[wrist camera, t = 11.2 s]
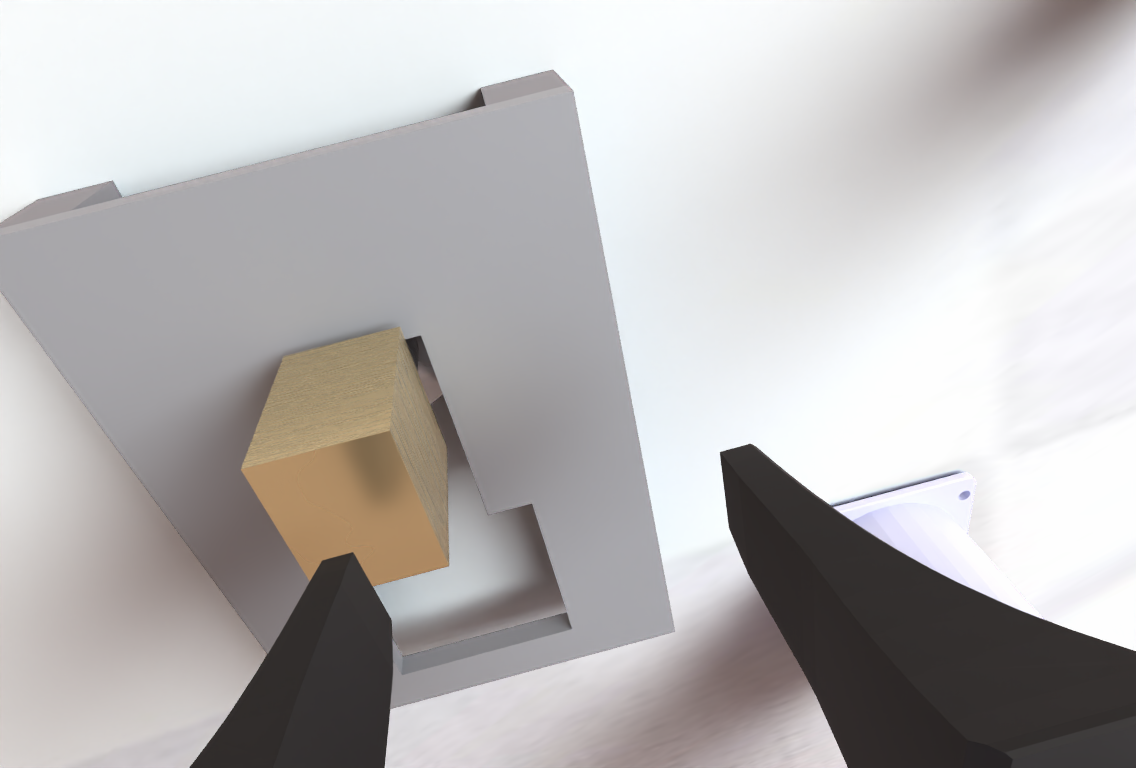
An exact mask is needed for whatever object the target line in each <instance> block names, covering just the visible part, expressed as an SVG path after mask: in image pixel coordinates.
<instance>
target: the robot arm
mask: <svg viewBox="0 0 1136 768" xmlns="http://www.w3.org/2000/svg"><path fill="white" fill-rule="evenodd" d="M720 457H721V465H722V473H723V482H724V490H725V498H726V507H727V515H728V523H729V529H730V531H731V534H732V536H733V538H734V541H735V543H736V546H737V548H738V551H739V553H740V555H741V558H742V560H743V562H744V565H745V567H746V569H747V572H748V574H749V576H750V578H751V580H752V581H753V583H754V585H755V587H756V589H757V590H758V592H759V594H760V596H761V597H762V599H763V601H764V603H765V605H766V606H767V608H768V610H769V612H770V614H771V615H772V617H773V619H774V621H775V622H776V624H777V626H778V628H779V629H780V631H781V633H782V635H783V636H784V638H785V640H786V642H787V644H788V645H789V647H790V649H791V651H792V652H793V654H794V656H795V658H796V659H797V661H798V663H799V665H800V667H801V668H802V670H803V672H804V674H805V675H806V677H807V679H808V681H809V683H810V685H811V687H812V689H813V691H814V693H815V695H816V697H817V699H818V701H819V703H820V706H821V708H822V710H823V712H824V715H825V717H826V719H827V721H828V724H829V726H830V728H831V730H832V733H833V735H834V737H835V739H836V741H837V744H838V746H839V748H840V750H841V753H842V755H843V757H844V760H845V762H846V764H847V767H848V768H1136V651H1133V650H1130V649H1127V648H1124V647H1121V646H1118V645H1115V644H1112V643H1109V642H1106V641H1103V640H1100V639H1097V638H1094V637H1091V636H1088V635H1085V634H1082V633H1079V632H1076V631H1073V630H1070V629H1067V628H1065V627H1062V626H1059V625H1057V624H1054V623H1052V622H1049V621H1047V620H1045V619H1044V618H1043V617H1042V616H1041V615H1040V614H1039V613H1038V612H1037V611H1036V609H1035V608H1034V607H1033V606H1032V605H1031V604H1030V603H1029V602H1028V601H1027V600H1026V598H1025V597H1024V596H1023V595H1022V594H1021V593H1020V592H1019V591H1018V590H1017V588H1016V587H1015V586H1014V585H1013V584H1012V583H1011V582H1010V581H1009V580H1008V579H1007V577H1006V576H1005V575H1004V574H1003V573H1002V572H1001V571H1000V570H999V569H998V567H997V566H996V565H995V564H994V563H993V562H992V561H991V560H990V559H989V558H988V556H987V555H986V554H985V553H984V552H983V551H982V550H981V549H980V548H979V546H978V545H977V544H976V543H975V542H974V541H973V540H972V539H971V538H970V536H969V535H968V529H969V523H970V518H971V512H972V506H973V500H974V494H975V488H976V479H975V478H974V477H973V476H972V475H971V474H970V473H967V472H964V473H959V474H955V475H951V476H948V477H944V478H940V479H936V480H933V481H929V482H925V483H922V484H918V485H914V486H910V487H907V488H903V489H899V490H895V491H892V492H888V493H884V494H881V495H877V496H873V497H869V498H866V499H862V500H858V501H855V502H851V503H847V504H843V505H840V506H836V507H832V506H830V505H829V504H827V503H826V502H825V501H823V500H822V499H821V498H819V497H818V496H816V495H815V494H814V493H812V492H811V491H810V490H809V489H807V488H806V487H805V486H803V485H802V484H801V483H799V482H798V481H797V480H796V479H794V478H793V477H792V476H791V475H789V474H788V473H787V472H786V471H784V470H783V469H782V468H781V467H780V466H778V465H777V464H776V463H775V462H774V461H772V460H771V459H770V458H769V457H768V456H766V455H765V454H764V453H763V452H762V451H761V450H759V449H758V448H757V447H756V446H754V445H752V444H748V445H744V446H741V447H737V448H733V449H730V450H726V451H722V452H720ZM392 681H393V643H392V622H391V618H390V617H389V615H388V613H387V611H386V609H385V608H384V606H383V604H382V602H381V601H380V599H379V597H378V595H377V593H376V592H375V590H374V588H373V586H372V584H371V583H370V581H369V579H368V577H367V576H366V574H365V572H364V570H363V568H362V567H361V565H360V563H359V561H358V560H357V558H356V556H355V554H354V552H351V553H348V554H344V555H340V556H337V557H333V558H329V559H326V560H322V562H321V563H320V565H319V567H318V568H317V570H316V572H315V573H314V575H313V577H312V578H311V580H310V582H309V584H308V585H307V587H306V589H305V591H304V592H303V594H302V596H301V598H300V599H299V601H298V603H297V605H296V607H295V608H294V610H293V612H292V614H291V615H290V617H289V619H288V620H287V622H286V624H285V626H284V627H283V629H282V631H281V633H280V634H279V636H278V638H277V639H276V641H275V643H274V644H273V646H272V648H271V649H270V651H269V653H268V654H267V656H266V658H265V659H264V661H263V663H262V664H261V666H260V668H259V669H258V671H257V672H256V674H255V675H254V677H253V679H252V680H251V682H250V683H249V685H248V686H247V688H246V689H245V691H244V692H243V694H242V695H241V697H240V698H239V700H238V701H237V703H236V705H235V706H234V708H233V709H232V711H231V712H230V714H229V715H228V716H227V718H226V719H225V721H224V722H223V724H222V725H221V726H220V728H219V729H218V731H217V732H216V733H215V735H214V736H213V737H212V739H211V740H210V741H209V743H208V744H207V745H206V747H205V748H204V749H203V751H202V752H201V753H200V755H199V756H198V757H197V759H196V760H195V761H194V762H193V764H192V765H191V766H190V768H384V767H385V757H386V746H387V736H388V726H389V715H390V704H391V693H392Z"/></svg>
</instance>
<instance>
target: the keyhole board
mask: <svg viewBox="0 0 1136 768" xmlns="http://www.w3.org/2000/svg"><path fill="white" fill-rule="evenodd" d="M481 92H482V96H483V99H484V103H485V106H483V107H479V108H475V109H471V110H467V111H463V112H459V113H455V114H451V115H447V116H443V117H439V118H435V119H431V120H427V121H423V122H419V123H415V124H411V125H407V126H403V127H399V128H395V129H392V130H388V131H384V132H380V133H376V134H372V135H368V136H364V137H360V138H356V139H352V140H348V141H344V142H340V143H336V144H332V145H328V146H324V147H320V148H316V149H312V150H308V151H305V152H301V153H297V154H293V155H289V156H285V157H281V158H277V159H273V160H269V161H265V162H261V163H257V164H253V165H249V166H245V167H241V168H237V169H233V170H229V171H225V172H221V173H218V174H214V175H210V176H206V177H202V178H198V179H194V180H190V181H186V182H182V183H178V184H174V185H170V186H166V187H162V188H158V189H154V190H150V191H146V192H142V193H138V194H134V195H131V196H127V197H123V198H122V196H121V194H120V193H119V191H118V189H117V188H116V186H115V184H114V182H113V181H109V182H106V183H102V184H98V185H94V186H90V187H86V188H82V189H78V190H74V191H70V192H66V193H62V194H58V195H54V196H50V197H46V198H42V199H38V200H36V201H35V202H33V203H32V204H30V205H28V206H27V207H25V208H24V209H22V210H20V211H19V212H17V213H16V214H14V215H12V216H11V217H9V218H8V219H6V220H4V221H3V222H1V223H0V291H1V292H2V294H3V295H4V296H5V298H6V299H7V301H8V302H9V303H10V305H11V306H12V307H13V309H14V310H15V311H16V313H17V314H18V315H19V317H20V318H21V320H22V321H23V322H24V324H25V325H26V326H27V328H28V329H29V330H30V332H31V333H32V334H33V336H34V337H35V339H36V340H37V341H38V343H39V344H40V345H41V347H42V348H43V349H44V351H45V352H46V354H47V355H48V356H49V358H50V359H51V360H52V362H53V363H54V364H55V366H56V367H57V368H58V370H59V371H60V373H61V374H62V375H63V377H64V378H65V379H66V381H67V382H68V383H69V385H70V386H71V388H72V389H73V390H74V392H75V393H76V394H77V396H78V397H79V398H80V400H81V401H82V402H83V404H84V405H85V407H86V408H87V409H88V411H89V412H90V413H91V415H92V416H93V417H94V419H95V420H96V422H97V423H98V424H99V426H100V427H101V428H102V430H103V431H104V432H105V434H106V435H107V436H108V438H109V439H110V441H111V442H112V443H113V445H114V446H115V447H116V449H117V450H118V451H119V453H120V454H121V455H122V457H123V458H124V460H125V461H126V462H127V464H128V465H129V466H130V468H131V469H132V470H133V472H134V473H135V475H136V476H137V477H138V479H139V480H140V481H141V483H142V484H143V485H144V487H145V488H146V489H147V491H148V492H149V494H150V495H151V496H152V498H153V499H154V500H155V502H156V503H157V504H158V506H159V507H160V509H161V510H162V511H163V513H164V514H165V515H166V517H167V518H168V519H169V521H170V522H171V523H172V525H173V526H174V528H175V529H176V530H177V532H178V533H179V534H180V536H181V537H182V538H183V540H184V541H185V543H186V544H187V545H188V547H189V548H190V549H191V551H192V552H193V553H194V555H195V556H196V557H197V559H198V560H199V562H200V563H201V564H202V566H203V567H204V568H205V570H206V571H207V572H208V574H209V575H210V577H211V578H212V579H213V581H214V582H215V583H216V585H217V586H218V587H219V589H220V590H221V591H222V593H223V594H224V596H225V597H226V598H227V600H228V601H229V602H230V604H231V605H232V606H233V608H234V609H235V610H236V612H237V613H238V615H239V616H240V617H241V619H242V620H243V621H244V623H245V624H246V625H247V627H248V628H249V630H250V631H251V632H252V634H253V635H254V636H255V638H256V639H257V640H258V642H259V643H260V644H261V646H262V647H263V649H264V650H265V651H266V653H267V654H268V653H269V651H270V649H271V648H272V646H273V644H274V643H275V641H276V639H277V638H278V636H279V634H280V633H281V631H282V629H283V627H284V626H285V624H286V622H287V620H288V619H289V617H290V615H291V614H292V612H293V610H294V608H295V607H296V605H297V603H298V601H299V599H300V598H301V596H302V594H303V592H304V591H305V589H306V587H307V585H308V584H309V582H310V581H309V580H308V578H307V576H306V575H305V573H304V571H303V570H302V568H301V567H300V565H299V563H298V562H297V560H296V558H295V557H294V555H293V554H292V552H291V550H290V549H289V547H288V546H287V544H286V542H285V541H284V539H283V537H282V536H281V534H280V533H279V531H278V529H277V528H276V526H275V524H274V523H273V521H272V520H271V518H270V516H269V515H268V513H267V511H266V510H265V508H264V507H263V505H262V503H261V502H260V500H259V498H258V497H257V495H256V494H255V492H254V490H253V489H252V487H251V485H250V484H249V482H248V481H247V479H246V477H245V476H244V474H243V472H242V471H241V467H242V465H243V462H244V459H245V457H246V454H247V451H248V449H249V446H250V443H251V441H252V438H253V436H254V433H255V430H256V428H257V425H258V422H259V420H260V417H261V415H262V412H263V409H264V407H265V404H266V401H267V399H268V396H269V393H270V391H271V388H272V386H273V383H274V380H275V378H276V375H277V372H278V370H279V367H280V365H281V362H282V359H283V357H284V356H287V355H291V354H295V353H299V352H303V351H307V350H311V349H314V348H318V347H322V346H326V345H330V344H334V343H338V342H342V341H346V340H349V339H353V338H357V337H361V336H365V335H369V334H373V333H377V332H380V331H384V330H388V329H392V328H396V327H400V328H401V330H402V333H403V335H404V338H405V339H409V338H413V337H417V336H421V337H422V340H423V342H424V345H425V348H426V351H427V353H428V356H429V359H430V361H431V364H432V367H433V369H434V372H435V375H436V377H437V380H438V383H439V385H440V388H441V391H442V393H443V396H444V399H445V401H446V404H447V407H448V409H449V412H450V415H451V417H452V420H453V423H454V425H455V428H456V431H457V433H458V436H459V439H460V442H461V444H462V447H463V450H464V452H465V455H466V458H467V460H468V463H469V466H470V468H471V471H472V474H473V476H474V479H475V482H476V484H477V487H478V490H479V492H480V495H481V498H482V500H483V503H484V506H485V508H486V511H487V514H488V515H491V514H495V513H499V512H503V511H506V510H510V509H514V508H518V507H521V506H525V505H529V504H532V505H533V508H534V511H535V514H536V517H537V521H538V524H539V527H540V530H541V533H542V536H543V539H544V542H545V546H546V549H547V552H548V555H549V558H550V561H551V564H552V567H553V571H554V574H555V577H556V580H557V583H558V586H559V589H560V592H561V596H562V599H563V602H564V605H565V608H566V611H567V613H563V614H559V615H556V616H552V617H548V618H544V619H541V620H537V621H533V622H530V623H526V624H522V625H518V626H515V627H511V628H507V629H504V630H500V631H496V632H493V633H489V634H485V635H481V636H478V637H474V638H470V639H467V640H463V641H459V642H456V643H452V644H448V645H444V646H441V647H437V648H433V649H430V650H426V651H422V652H418V653H415V654H411V655H407V656H404V657H403V656H402V654H401V652H400V651H399V649H398V647H397V645H396V643H395V642H394V640H393V638H392V643H393V681H392V693H391V704H390V709H392V708H396V707H400V706H403V705H407V704H411V703H415V702H418V701H422V700H426V699H429V698H433V697H437V696H440V695H444V694H448V693H451V692H455V691H459V690H462V689H466V688H470V687H473V686H477V685H481V684H485V683H488V682H492V681H496V680H499V679H503V678H507V677H510V676H514V675H518V674H521V673H525V672H529V671H532V670H536V669H540V668H543V667H547V666H551V665H554V664H558V663H562V662H566V661H569V660H573V659H577V658H580V657H584V656H588V655H591V654H595V653H599V652H602V651H606V650H610V649H613V648H617V647H621V646H624V645H628V644H632V643H636V642H639V641H643V640H647V639H650V638H654V637H658V636H661V635H665V634H669V633H672V632H675V629H674V623H673V618H672V613H671V607H670V602H669V597H668V591H667V586H666V581H665V575H664V570H663V565H662V560H661V554H660V549H659V544H658V538H657V533H656V528H655V522H654V517H653V512H652V506H651V501H650V496H649V490H648V485H647V480H646V475H645V469H644V464H643V459H642V453H641V448H640V443H639V437H638V432H637V427H636V421H635V416H634V411H633V406H632V400H631V395H630V390H629V384H628V379H627V374H626V368H625V363H624V358H623V352H622V347H621V342H620V336H619V331H618V326H617V321H616V315H615V310H614V305H613V299H612V294H611V289H610V283H609V278H608V273H607V267H606V262H605V257H604V251H603V246H602V241H601V236H600V230H599V225H598V220H597V214H596V209H595V204H594V198H593V193H592V188H591V182H590V177H589V172H588V167H587V161H586V156H585V151H584V145H583V140H582V135H581V129H580V124H579V119H578V113H577V108H576V103H575V97H574V92H573V90H572V89H571V88H570V87H569V86H568V85H567V84H566V83H565V82H564V81H563V79H562V78H561V77H560V76H559V75H558V74H557V73H556V72H555V71H554V70H550V71H546V72H542V73H538V74H534V75H530V76H526V77H522V78H518V79H514V80H510V81H506V82H502V83H498V84H494V85H490V86H486V87H482V88H481Z"/></svg>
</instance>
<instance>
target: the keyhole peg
mask: <svg viewBox="0 0 1136 768" xmlns="http://www.w3.org/2000/svg"><path fill="white" fill-rule="evenodd" d="M442 394H443V393H442V391H441V388H440V385H439V383H438V380H437V377H436V375H435V372H434V369H433V367H432V364H431V361H430V359H429V356H428V353H427V351H426V348H425V345H424V342H423V340H422V337H421V336H417V337H413V338H409V339H405V338H404V335H403V333H402V330H401V328H400V327H396V328H392V329H388V330H384V331H380V332H377V333H373V334H369V335H365V336H361V337H357V338H353V339H349V340H346V341H342V342H338V343H334V344H330V345H326V346H322V347H318V348H314V349H311V350H307V351H303V352H299V353H295V354H291V355H287V356H284V357H283V359H282V362H281V365H280V367H279V370H278V372H277V375H276V378H275V380H274V383H273V386H272V388H271V391H270V393H269V396H268V399H267V401H266V404H265V407H264V409H263V412H262V415H261V417H260V420H259V422H258V425H257V428H256V430H255V433H254V436H253V438H252V441H251V443H250V446H249V449H248V451H247V454H246V457H245V459H244V462H243V465H242V467H241V471H242V472H243V474H244V476H245V477H246V479H247V481H248V482H249V484H250V485H251V487H252V489H253V490H254V492H255V494H256V495H257V497H258V498H259V500H260V502H261V503H262V505H263V507H264V508H265V510H266V511H267V513H268V515H269V516H270V518H271V520H272V521H273V523H274V524H275V526H276V528H277V529H278V531H279V533H280V534H281V536H282V537H283V539H284V541H285V542H286V544H287V546H288V547H289V549H290V550H291V552H292V554H293V555H294V557H295V558H296V560H297V562H298V563H299V565H300V567H301V568H302V570H303V571H304V573H305V575H306V576H307V578H308V580H309V581H310V580H311V578H312V577H313V575H314V573H315V572H316V570H317V568H318V567H319V565H320V563H321V562H322V560H326V559H329V558H333V557H337V556H340V555H344V554H348V553H351V552H354V554H355V556H356V558H357V560H358V561H359V563H360V565H361V567H362V568H363V570H364V572H365V574H366V576H367V577H368V579H369V581H370V583H371V584H372V586H376V585H380V584H384V583H387V582H391V581H395V580H399V579H402V578H406V577H410V576H414V575H417V574H421V573H425V572H429V571H432V570H436V569H440V568H444V567H448V566H449V536H448V479H447V446H446V444H445V441H444V439H443V436H442V434H441V431H440V428H439V426H438V423H437V421H436V418H435V415H434V413H433V410H432V408H431V405H430V404H432V403H433V402H434V401H436V400H437V399H438V398H439V397H441V396H442Z"/></svg>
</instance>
